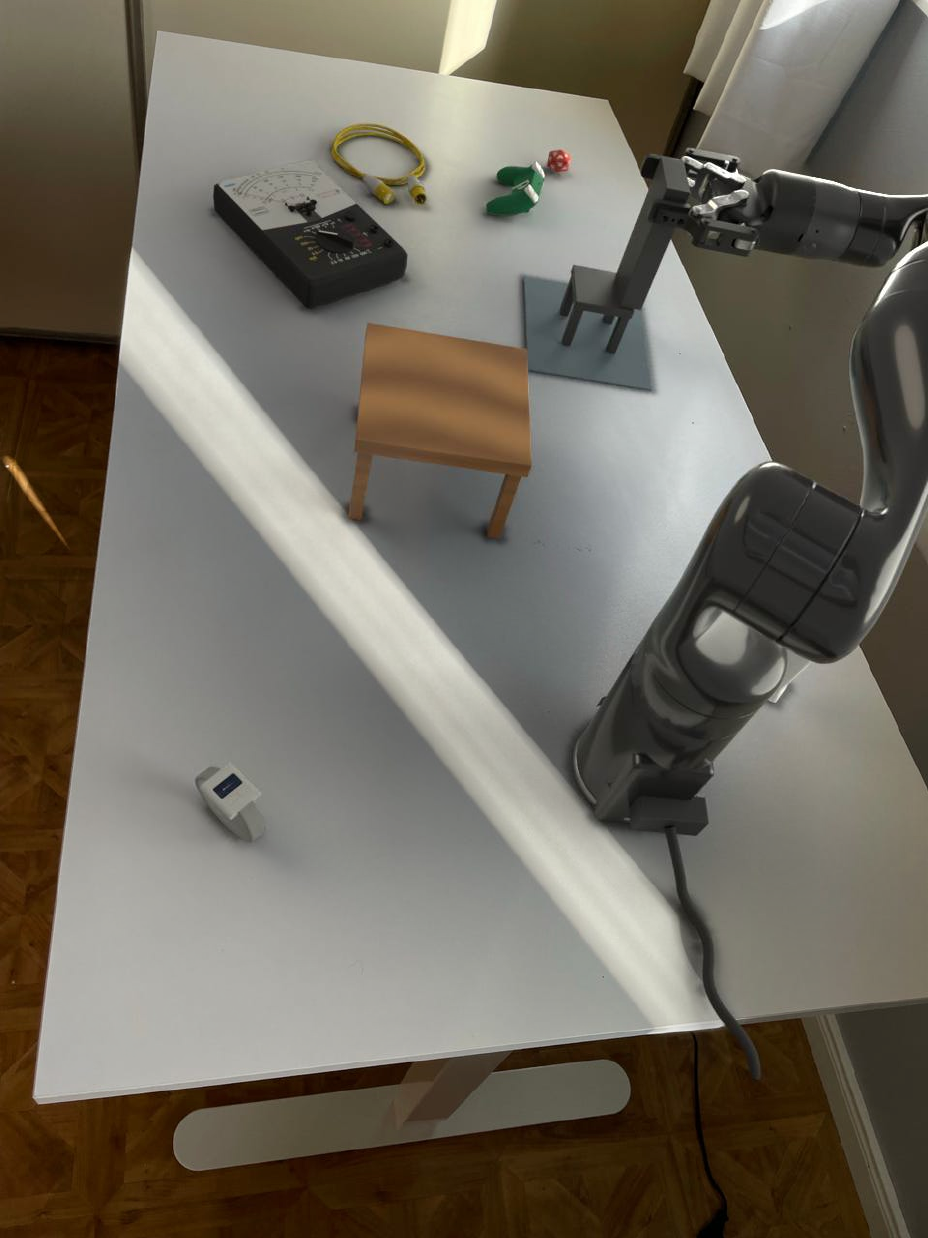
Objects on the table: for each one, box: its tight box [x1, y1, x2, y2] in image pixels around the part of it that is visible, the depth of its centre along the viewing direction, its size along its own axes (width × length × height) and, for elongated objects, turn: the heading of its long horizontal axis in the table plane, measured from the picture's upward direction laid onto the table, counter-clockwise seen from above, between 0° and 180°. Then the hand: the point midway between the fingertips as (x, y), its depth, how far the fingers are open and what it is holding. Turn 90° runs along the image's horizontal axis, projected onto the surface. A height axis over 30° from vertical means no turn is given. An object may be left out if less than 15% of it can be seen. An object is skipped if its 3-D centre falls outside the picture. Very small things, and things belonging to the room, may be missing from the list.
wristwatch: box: [194, 762, 266, 843], centre depth 71 cm, size 6×3×5 cm, turn 48°
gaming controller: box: [485, 161, 545, 216], centre depth 124 cm, size 9×4×6 cm
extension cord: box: [331, 122, 427, 206], centre depth 123 cm, size 12×16×2 cm
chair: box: [560, 156, 691, 354], centre depth 105 cm, size 7×6×20 cm
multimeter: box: [212, 159, 408, 309], centre depth 110 cm, size 13×19×5 cm
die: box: [546, 148, 572, 174], centre depth 130 cm, size 3×3×3 cm
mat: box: [523, 276, 653, 391], centre depth 113 cm, size 16×14×1 cm
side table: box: [347, 322, 533, 539], centre depth 92 cm, size 15×15×10 cm
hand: (646, 186), depth 99 cm, fingers open, 7 cm apart
